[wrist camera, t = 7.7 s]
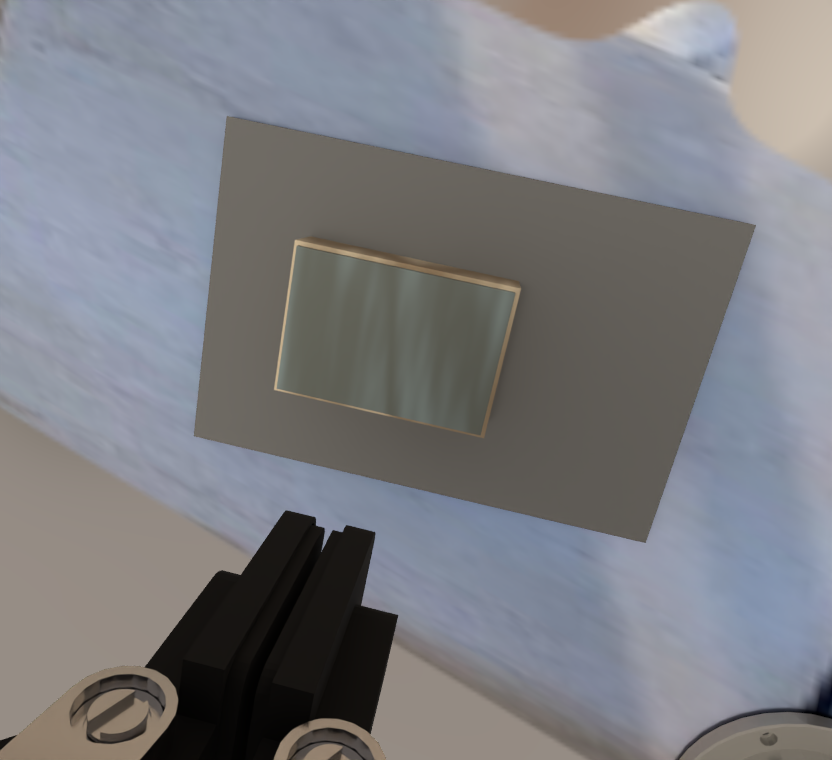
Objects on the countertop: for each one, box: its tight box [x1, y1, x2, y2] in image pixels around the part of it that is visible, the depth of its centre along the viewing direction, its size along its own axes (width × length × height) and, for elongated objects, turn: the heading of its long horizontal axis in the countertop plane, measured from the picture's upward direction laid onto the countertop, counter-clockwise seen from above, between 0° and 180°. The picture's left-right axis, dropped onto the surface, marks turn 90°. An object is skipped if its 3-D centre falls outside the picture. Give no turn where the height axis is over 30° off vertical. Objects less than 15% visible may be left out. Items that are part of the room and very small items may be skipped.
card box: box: [274, 236, 521, 438], centre depth 30 cm, size 3×7×10 cm
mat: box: [194, 116, 756, 543], centre depth 31 cm, size 24×16×1 cm, turn 79°
